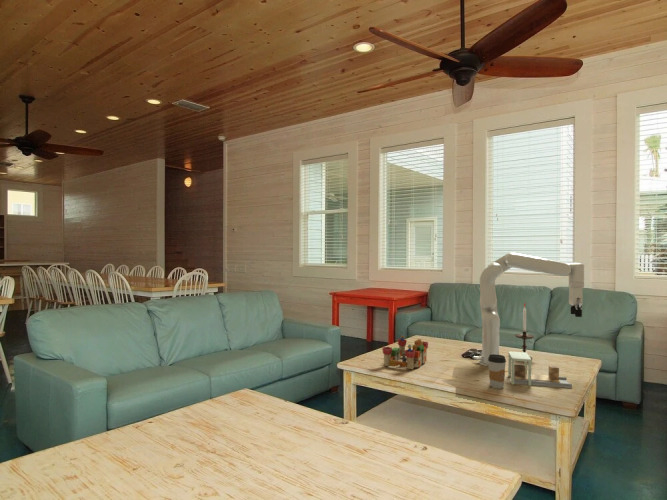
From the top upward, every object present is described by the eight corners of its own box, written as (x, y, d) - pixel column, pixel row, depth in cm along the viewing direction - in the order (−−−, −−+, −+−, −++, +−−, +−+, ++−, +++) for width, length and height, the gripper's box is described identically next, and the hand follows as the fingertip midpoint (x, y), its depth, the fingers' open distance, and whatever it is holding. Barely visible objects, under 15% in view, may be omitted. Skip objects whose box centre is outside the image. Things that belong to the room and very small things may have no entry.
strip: (516, 380, 217) (516, 366, 217) (514, 375, 226) (514, 361, 226) (560, 384, 211) (560, 369, 211) (555, 378, 221) (556, 364, 220)
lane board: (514, 383, 216) (514, 379, 216) (511, 376, 228) (511, 372, 228) (572, 388, 209) (572, 384, 209) (566, 381, 220) (566, 377, 220)
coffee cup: (496, 390, 206) (496, 359, 206) (484, 384, 214) (484, 355, 214) (509, 387, 210) (509, 357, 210) (496, 382, 217) (497, 353, 217)
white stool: (511, 384, 215) (511, 358, 215) (508, 375, 229) (508, 351, 229) (531, 386, 213) (531, 359, 213) (526, 377, 227) (526, 352, 227)
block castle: (399, 354, 275) (399, 332, 275) (430, 358, 265) (430, 335, 265) (380, 365, 249) (380, 341, 249) (414, 370, 239) (414, 345, 239)
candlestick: (534, 361, 259) (535, 303, 258) (515, 359, 262) (515, 302, 262) (532, 357, 269) (533, 301, 269) (514, 355, 272) (514, 300, 272)
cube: (514, 376, 219) (514, 366, 219) (513, 373, 224) (513, 364, 224) (525, 377, 218) (525, 367, 218) (523, 374, 223) (524, 365, 223)
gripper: (565, 283, 249) (564, 312, 250) (572, 286, 233) (572, 317, 233) (579, 283, 247) (579, 313, 248) (588, 286, 231) (588, 318, 231)
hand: (576, 315), depth 240 cm, fingers open, 9 cm apart
